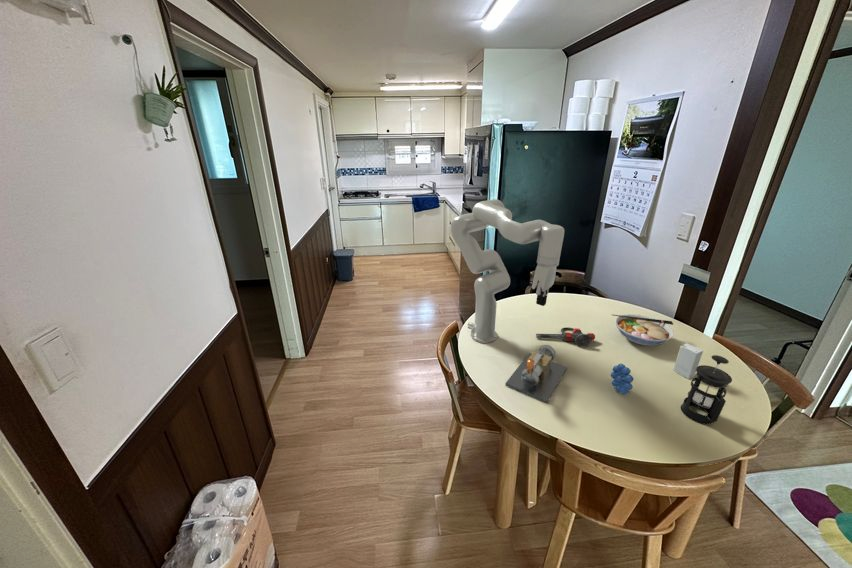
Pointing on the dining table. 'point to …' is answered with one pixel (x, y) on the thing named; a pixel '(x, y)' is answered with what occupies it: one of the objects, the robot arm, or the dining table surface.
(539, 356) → the lever
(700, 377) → the french press
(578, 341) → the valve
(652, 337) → the ramen bowl
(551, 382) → the valve body
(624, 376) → the grapes
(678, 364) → the skincare box
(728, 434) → the dining table surface
